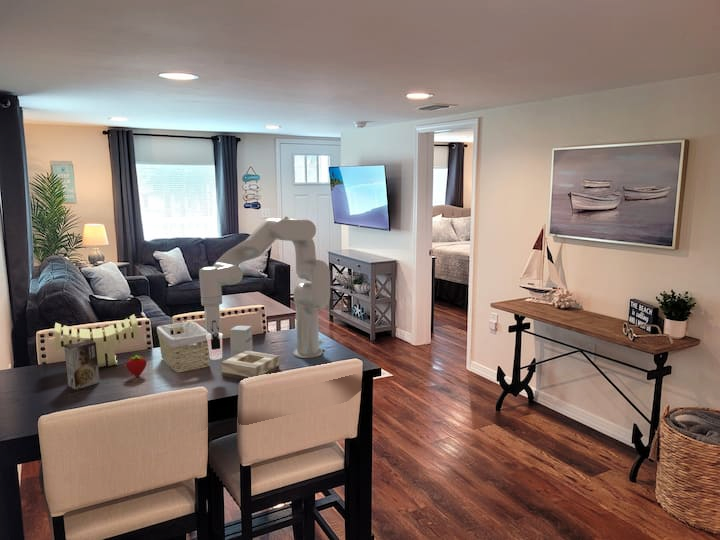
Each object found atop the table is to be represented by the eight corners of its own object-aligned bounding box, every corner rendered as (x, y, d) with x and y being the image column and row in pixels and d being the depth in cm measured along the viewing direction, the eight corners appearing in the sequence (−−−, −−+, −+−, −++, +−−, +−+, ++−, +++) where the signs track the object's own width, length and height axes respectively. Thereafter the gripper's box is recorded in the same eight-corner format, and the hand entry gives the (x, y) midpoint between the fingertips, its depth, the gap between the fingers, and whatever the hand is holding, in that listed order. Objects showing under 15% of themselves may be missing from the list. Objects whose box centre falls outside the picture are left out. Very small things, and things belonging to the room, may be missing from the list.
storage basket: (213, 367, 217) (211, 332, 215) (173, 375, 208) (170, 339, 205) (195, 352, 236) (193, 320, 234) (157, 359, 227) (155, 325, 225)
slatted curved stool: (58, 375, 208) (54, 331, 205) (59, 363, 222) (55, 322, 219) (140, 363, 222) (137, 322, 219) (136, 352, 236) (134, 313, 233)
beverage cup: (225, 354, 205) (223, 319, 202) (222, 360, 199) (219, 324, 196) (209, 355, 204) (207, 320, 202) (205, 360, 198) (203, 324, 196)
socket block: (247, 363, 222) (246, 350, 221) (279, 368, 215) (278, 355, 214) (221, 375, 207) (221, 362, 206) (255, 381, 201) (254, 368, 200)
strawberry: (125, 376, 207) (123, 351, 205) (145, 372, 211) (144, 348, 209) (128, 381, 202) (126, 356, 200) (149, 377, 206) (147, 352, 204)
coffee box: (92, 379, 204) (88, 338, 202) (100, 382, 200) (96, 341, 198) (67, 385, 197) (63, 344, 195) (75, 390, 193) (71, 347, 191)
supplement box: (246, 358, 227) (245, 330, 225) (230, 357, 228) (229, 329, 226) (253, 353, 234) (252, 325, 232) (237, 352, 236) (236, 324, 233)
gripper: (199, 296, 204) (203, 341, 208) (202, 306, 188) (206, 354, 192) (219, 294, 207) (223, 338, 210) (224, 304, 191) (227, 351, 194)
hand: (215, 345), depth 201 cm, fingers closed on beverage cup, 6 cm apart
